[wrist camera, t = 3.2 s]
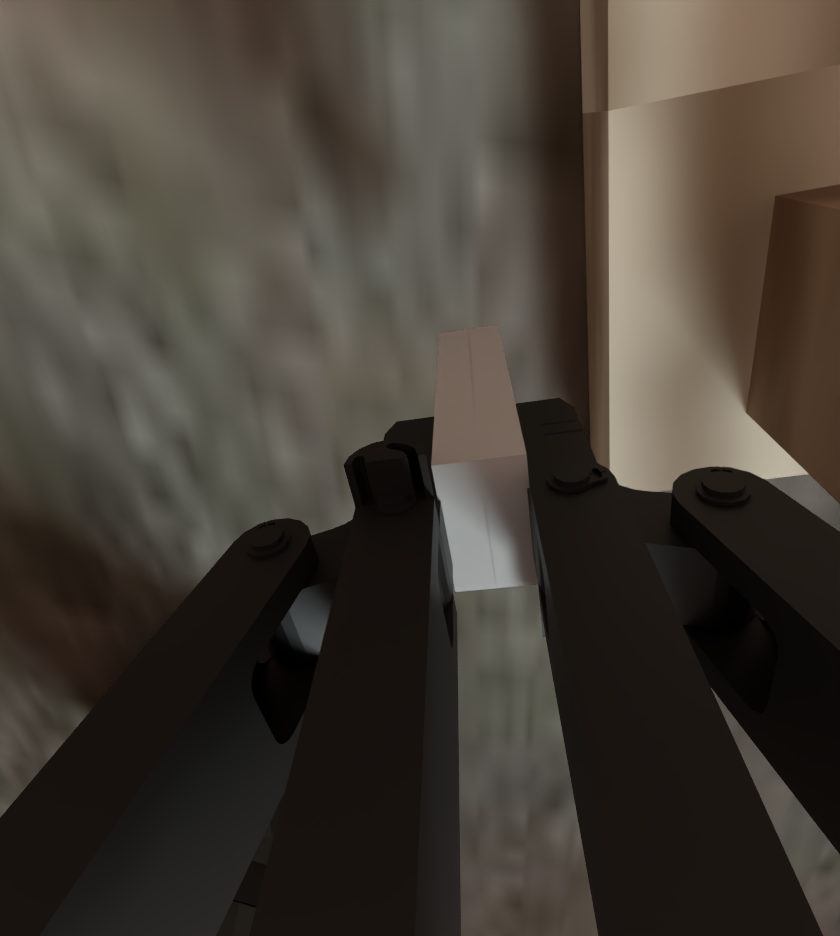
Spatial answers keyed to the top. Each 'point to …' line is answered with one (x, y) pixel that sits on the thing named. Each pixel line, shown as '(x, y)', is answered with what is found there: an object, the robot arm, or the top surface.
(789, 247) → the walnut block
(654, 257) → the trap deck
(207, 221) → the top surface
